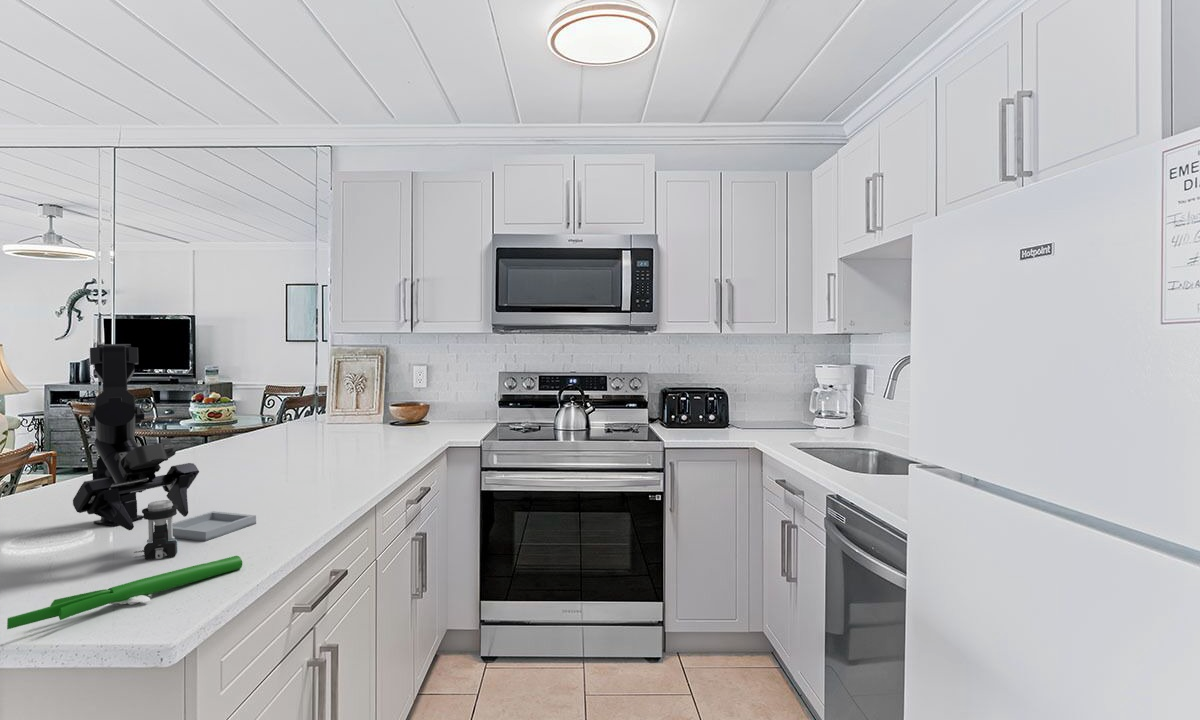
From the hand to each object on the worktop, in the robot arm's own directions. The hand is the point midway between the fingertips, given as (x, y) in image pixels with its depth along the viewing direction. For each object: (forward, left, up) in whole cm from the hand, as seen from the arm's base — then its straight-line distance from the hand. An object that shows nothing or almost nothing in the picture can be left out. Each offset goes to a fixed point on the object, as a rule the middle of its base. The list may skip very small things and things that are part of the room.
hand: (160, 521), depth 110 cm
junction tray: (-7, +16, -7) cm, 18 cm away
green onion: (+15, -15, -7) cm, 22 cm away
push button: (-1, 0, -7) cm, 7 cm away
